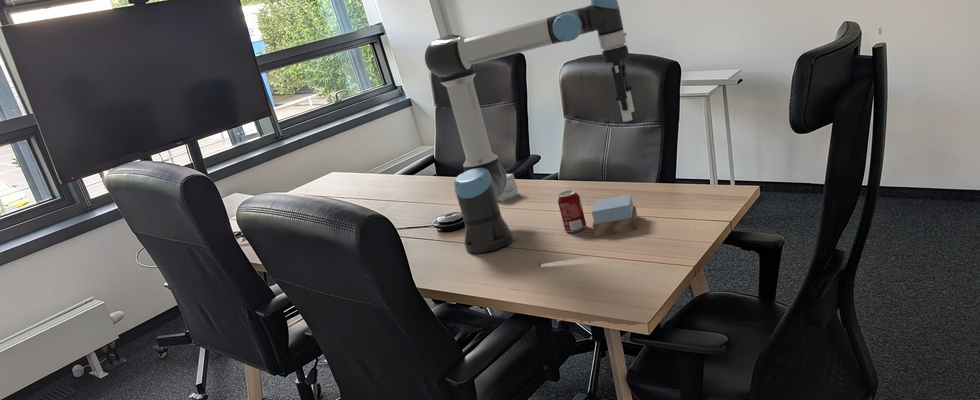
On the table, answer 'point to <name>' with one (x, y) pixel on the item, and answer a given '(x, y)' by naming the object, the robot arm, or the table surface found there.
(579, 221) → the soda can
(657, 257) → the table surface
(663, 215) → the table surface
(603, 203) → the top block
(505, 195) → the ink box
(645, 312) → the table surface
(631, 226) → the base block
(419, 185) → the table surface
